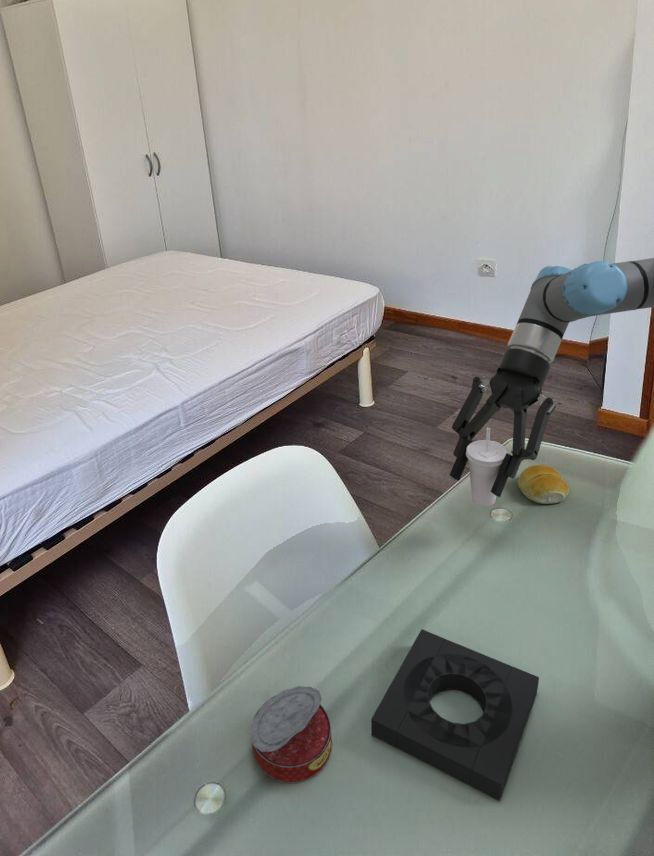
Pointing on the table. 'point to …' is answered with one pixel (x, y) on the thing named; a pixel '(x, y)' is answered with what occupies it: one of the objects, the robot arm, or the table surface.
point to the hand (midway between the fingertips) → (474, 485)
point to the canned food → (292, 735)
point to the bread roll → (542, 484)
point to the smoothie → (484, 468)
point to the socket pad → (452, 742)
